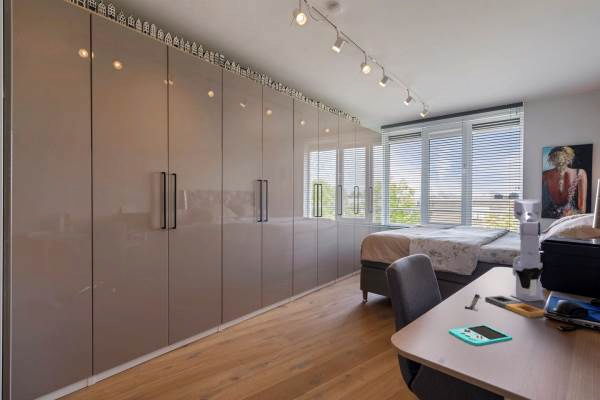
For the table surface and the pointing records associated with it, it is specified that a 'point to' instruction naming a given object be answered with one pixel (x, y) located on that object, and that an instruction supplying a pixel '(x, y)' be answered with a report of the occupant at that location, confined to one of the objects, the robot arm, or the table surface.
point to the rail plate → (515, 306)
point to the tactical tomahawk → (473, 303)
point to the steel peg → (531, 290)
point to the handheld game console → (480, 335)
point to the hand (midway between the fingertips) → (528, 287)
